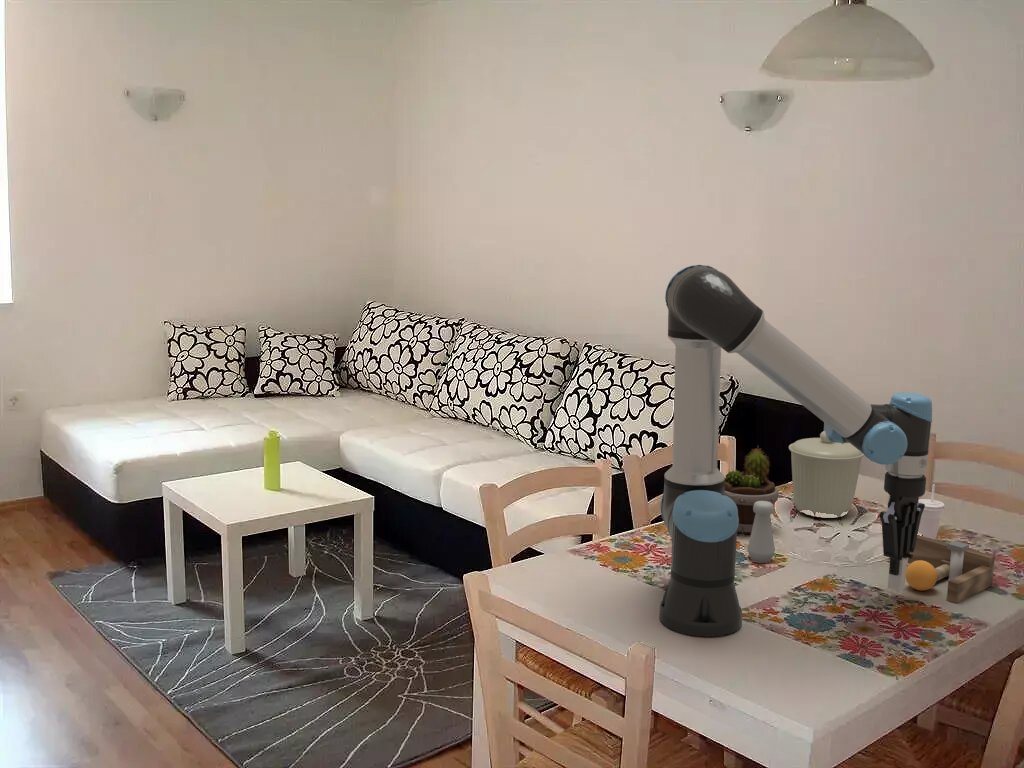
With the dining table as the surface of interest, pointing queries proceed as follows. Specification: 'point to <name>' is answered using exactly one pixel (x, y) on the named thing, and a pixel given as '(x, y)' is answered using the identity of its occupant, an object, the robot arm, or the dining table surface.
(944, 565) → the maple pin
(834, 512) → the canister
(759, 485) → the flowerpot
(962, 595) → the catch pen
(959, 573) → the grey pin
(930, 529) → the smoothie
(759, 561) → the salt shaker
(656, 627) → the dining table surface
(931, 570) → the ball
